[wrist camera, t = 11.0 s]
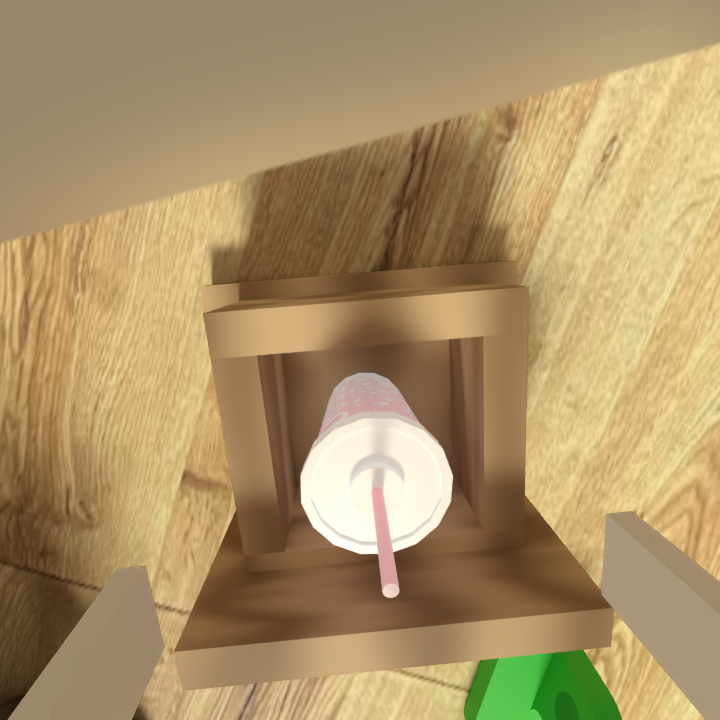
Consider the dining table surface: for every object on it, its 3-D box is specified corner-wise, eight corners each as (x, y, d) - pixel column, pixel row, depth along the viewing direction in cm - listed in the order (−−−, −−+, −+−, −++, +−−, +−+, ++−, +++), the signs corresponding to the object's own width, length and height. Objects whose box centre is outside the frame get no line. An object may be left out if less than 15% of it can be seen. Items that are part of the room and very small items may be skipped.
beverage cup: (381, 340, 24) (430, 449, 10) (433, 421, 25) (539, 613, 11) (296, 394, 24) (232, 567, 11) (351, 470, 26) (357, 709, 12)
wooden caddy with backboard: (249, 514, 28) (183, 690, 17) (211, 284, 24) (92, 302, 13) (501, 491, 29) (610, 646, 17) (502, 261, 25) (644, 257, 13)
